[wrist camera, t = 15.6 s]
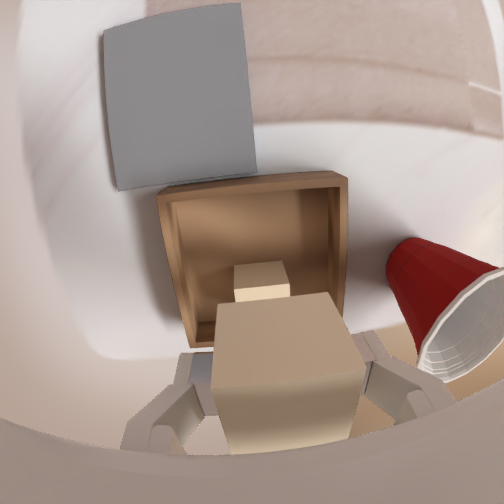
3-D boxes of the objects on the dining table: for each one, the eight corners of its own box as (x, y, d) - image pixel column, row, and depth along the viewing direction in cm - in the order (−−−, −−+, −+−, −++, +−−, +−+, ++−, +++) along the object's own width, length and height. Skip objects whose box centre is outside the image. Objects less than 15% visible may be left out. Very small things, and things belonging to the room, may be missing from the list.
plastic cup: (352, 315, 28) (400, 405, 17) (370, 211, 24) (454, 273, 13) (433, 307, 29) (491, 374, 18) (457, 216, 24) (540, 265, 13)
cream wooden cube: (217, 303, 10) (210, 388, 7) (327, 291, 10) (366, 367, 7) (231, 379, 12) (232, 457, 8) (322, 368, 12) (346, 441, 8)
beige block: (234, 265, 25) (233, 289, 21) (281, 260, 25) (289, 283, 21) (239, 305, 26) (239, 332, 22) (283, 300, 26) (290, 327, 22)
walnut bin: (167, 186, 22) (155, 196, 19) (332, 170, 22) (347, 177, 19) (194, 323, 27) (190, 348, 24) (330, 309, 28) (341, 331, 24)
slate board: (108, 33, 17) (103, 30, 16) (240, 7, 17) (240, 2, 16) (122, 189, 22) (118, 191, 21) (256, 170, 22) (257, 172, 21)
